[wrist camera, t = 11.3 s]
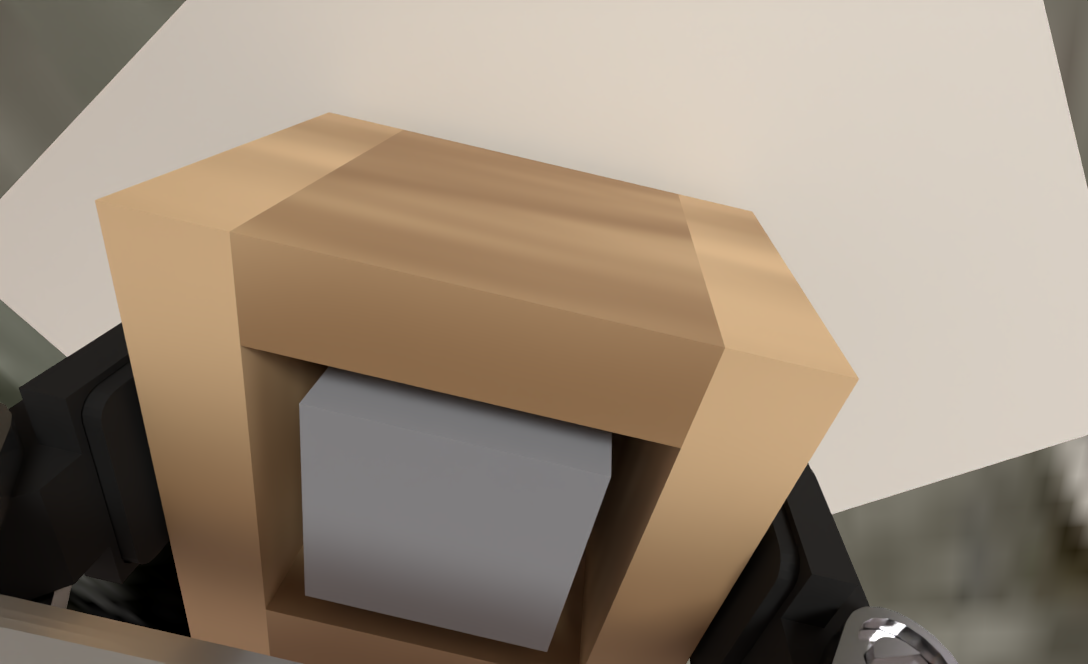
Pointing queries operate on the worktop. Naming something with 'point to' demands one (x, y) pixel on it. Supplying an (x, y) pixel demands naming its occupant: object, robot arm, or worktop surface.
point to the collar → (462, 370)
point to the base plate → (649, 160)
